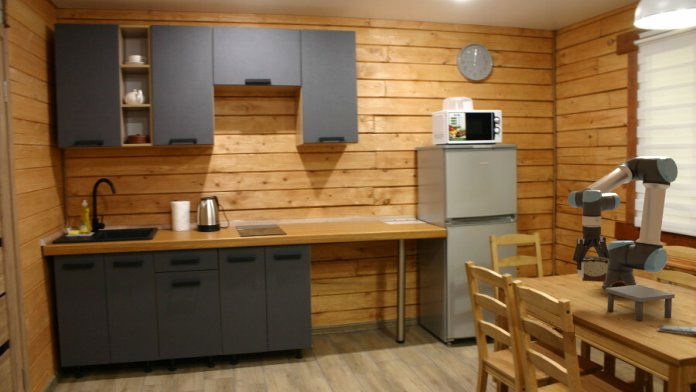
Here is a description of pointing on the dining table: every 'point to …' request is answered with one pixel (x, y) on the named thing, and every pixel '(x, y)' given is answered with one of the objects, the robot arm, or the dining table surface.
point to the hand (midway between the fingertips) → (590, 276)
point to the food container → (595, 268)
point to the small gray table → (640, 298)
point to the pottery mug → (618, 284)
